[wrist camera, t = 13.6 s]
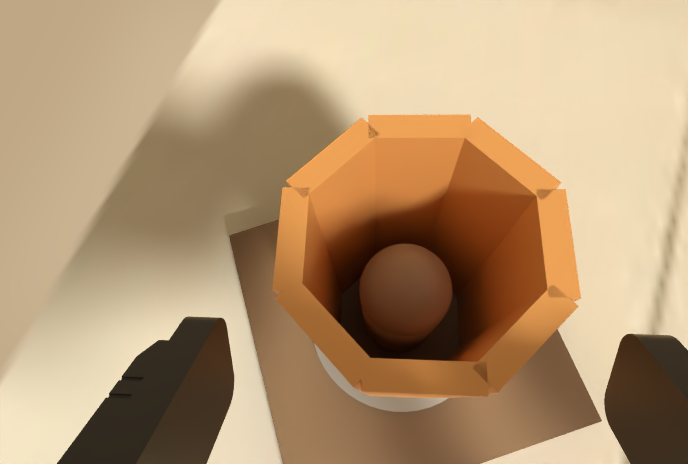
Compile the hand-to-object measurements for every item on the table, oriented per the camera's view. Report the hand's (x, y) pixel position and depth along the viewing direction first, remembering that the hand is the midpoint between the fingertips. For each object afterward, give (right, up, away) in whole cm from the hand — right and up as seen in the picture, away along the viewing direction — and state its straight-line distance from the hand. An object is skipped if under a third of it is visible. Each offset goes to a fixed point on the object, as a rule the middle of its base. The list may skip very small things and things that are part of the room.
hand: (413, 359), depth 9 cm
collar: (+1, -1, +9) cm, 9 cm away
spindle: (+1, -1, +11) cm, 11 cm away
